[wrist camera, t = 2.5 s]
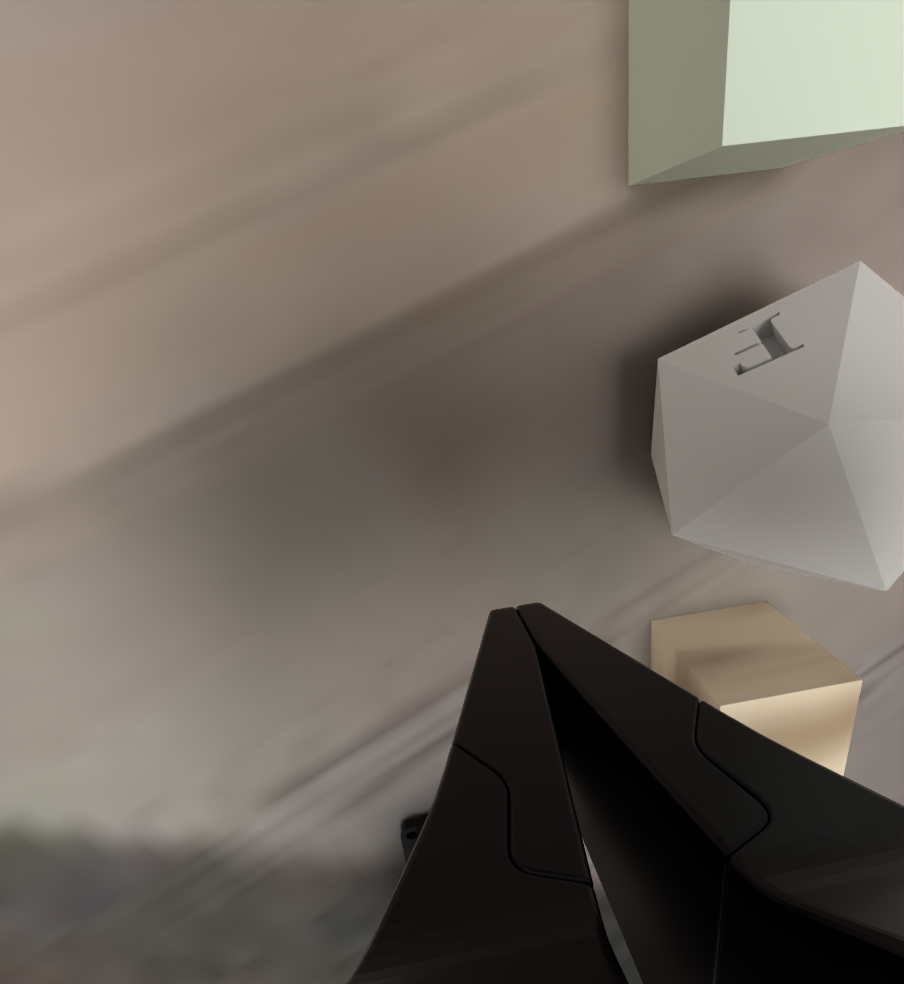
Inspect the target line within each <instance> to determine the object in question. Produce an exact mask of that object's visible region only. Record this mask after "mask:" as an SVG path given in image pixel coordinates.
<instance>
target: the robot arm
mask: <svg viewBox="0 0 904 984" xmlns="http://www.w3.org/2000/svg"><path fill="white" fill-rule="evenodd" d="M581 835H582V836H581ZM582 838H583V840H584V843H585V845H586V847H587V850H588V852H589V855H590V857H591V859H592V862H593V864H594V867H595V869H596V871H597V874H598V876H599V879H600V881H601V883H602V886H603V888H604V891H605V893H606V896H607V898H608V900H609V903H610V905H611V908H612V910H613V912H614V915H615V917H616V920H617V922H618V924H619V927H620V929H621V932H622V934H623V936H624V939H625V941H626V944H627V946H628V949H629V951H630V953H631V956H632V958H633V961H634V963H635V965H636V968H637V970H638V973H639V975H640V977H641V980H642V982H643V984H904V806H902V805H900V804H898V803H896V802H894V801H892V800H890V799H888V798H886V797H884V796H882V795H880V794H878V793H876V792H874V791H872V790H870V789H868V788H866V787H864V786H862V785H860V784H858V783H856V782H854V781H852V780H850V779H848V778H846V777H844V776H842V775H840V774H838V773H836V772H834V771H832V770H830V769H828V768H826V767H824V766H822V765H820V764H818V763H816V762H814V761H812V760H810V759H808V758H806V757H804V756H802V755H800V754H798V753H796V752H794V751H793V750H791V749H789V748H787V747H785V746H783V745H781V744H779V743H777V742H775V741H773V740H771V739H769V738H767V737H766V736H764V735H762V734H760V733H758V732H757V731H755V730H753V729H751V728H750V727H748V726H746V725H744V724H743V723H741V722H739V721H737V720H735V719H734V718H732V717H730V716H728V715H727V714H725V713H723V712H722V711H720V710H718V709H717V708H715V707H713V706H712V705H710V704H708V703H707V702H705V701H700V703H699V698H698V697H696V696H695V695H693V694H691V693H690V692H688V691H686V690H685V689H683V688H681V687H680V686H678V685H676V684H675V683H673V682H671V681H670V680H668V679H666V678H665V677H663V676H661V675H660V674H658V673H656V672H655V671H653V670H651V669H650V668H648V667H646V666H645V665H643V664H641V663H640V662H638V661H636V660H635V659H633V658H631V657H630V656H628V655H626V654H625V653H623V652H621V651H620V650H618V649H616V648H615V647H613V646H611V645H610V644H608V643H606V642H605V641H603V640H601V639H600V638H598V637H596V636H595V635H593V634H591V633H590V632H588V631H586V630H585V629H583V628H581V627H580V626H578V625H576V624H575V623H573V622H571V621H570V620H568V619H566V618H565V617H563V616H561V615H560V614H558V613H556V612H555V611H553V610H551V609H550V608H548V607H546V606H545V605H543V604H541V603H531V604H526V605H520V606H518V607H516V609H515V608H513V607H508V608H502V609H496V610H492V611H491V612H490V614H489V617H488V620H487V624H486V627H485V631H484V634H483V638H482V641H481V645H480V648H479V652H478V655H477V659H476V662H475V666H474V669H473V673H472V676H471V680H470V683H469V687H468V690H467V694H466V697H465V701H464V704H463V708H462V711H461V715H460V718H459V722H458V725H457V729H456V732H455V736H454V739H453V743H452V747H451V749H450V752H449V755H448V759H447V762H446V766H445V769H444V772H443V775H442V778H441V781H440V784H439V787H438V790H437V793H436V796H435V799H434V802H433V804H432V806H431V809H430V811H429V814H428V816H425V817H420V818H415V819H410V820H407V821H405V822H404V823H403V824H402V825H401V841H402V845H403V850H404V855H405V859H406V866H405V868H404V870H403V872H402V875H401V877H400V879H399V881H398V883H397V886H396V888H395V890H394V892H393V894H392V896H391V899H390V901H389V903H388V905H387V907H386V910H385V912H384V914H383V916H382V918H381V921H380V923H379V925H378V927H377V929H376V931H375V933H374V935H373V937H372V940H371V942H370V944H369V946H368V948H367V950H366V951H365V953H364V955H363V957H362V959H361V960H360V962H359V964H358V965H357V967H356V969H355V970H354V972H353V973H352V975H351V976H350V978H349V979H348V980H347V982H346V983H345V984H628V981H627V979H626V977H625V975H624V973H623V971H622V969H621V967H620V964H619V962H618V960H617V958H616V956H615V954H614V952H613V949H612V947H611V945H610V942H609V940H608V937H607V934H606V931H605V927H604V924H603V921H602V917H601V914H600V910H599V906H598V902H597V898H596V894H595V891H594V889H593V881H592V877H591V873H590V869H589V865H588V861H587V856H586V852H585V848H584V844H583V840H582Z"/></svg>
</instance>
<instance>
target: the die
mask: <svg viewBox="0 0 904 984" xmlns="http://www.w3.org/2000/svg"><path fill="white" fill-rule="evenodd" d="M651 457H652V460H653V464H654V468H655V472H656V476H657V480H658V484H659V487H660V491H661V495H662V499H663V503H664V507H665V511H666V514H667V518H668V522H669V526H670V530H671V534H672V535H673V536H676V537H678V538H681V539H683V540H686V541H689V542H691V543H694V544H697V545H699V546H702V547H705V548H707V549H710V550H713V551H715V552H718V553H721V554H723V555H726V556H729V557H731V558H734V559H736V560H739V561H742V562H744V563H747V564H750V565H752V566H757V567H762V568H767V569H773V570H778V571H783V572H788V573H793V574H799V575H804V576H809V577H814V578H819V579H824V580H830V581H835V582H840V583H845V584H850V585H856V586H861V587H866V588H871V589H876V590H882V591H887V590H888V589H889V588H890V587H891V586H892V584H893V583H894V582H895V581H896V580H897V578H898V577H899V576H900V575H901V574H902V572H903V571H904V297H903V296H902V295H901V294H900V293H898V292H897V291H896V290H895V289H894V288H892V287H891V286H890V285H889V284H888V283H886V282H885V281H884V280H883V279H882V278H880V277H879V276H878V275H877V274H876V273H874V272H873V271H872V270H871V269H870V268H868V267H867V266H866V265H865V264H864V263H862V262H861V261H858V262H856V263H854V264H852V265H850V266H848V267H846V268H844V269H842V270H840V271H838V272H836V273H834V274H832V275H830V276H828V277H825V278H823V279H821V280H819V281H817V282H815V283H813V284H811V285H809V286H807V287H805V288H803V289H801V290H799V291H797V292H795V293H792V294H790V295H788V296H786V297H784V298H782V299H780V300H778V301H776V302H774V303H772V304H770V305H768V306H766V307H764V308H762V309H759V310H757V311H755V312H753V313H751V314H749V315H747V316H745V317H743V318H741V319H739V320H737V321H735V322H733V323H731V324H729V325H726V326H724V327H722V328H720V329H718V330H716V331H714V332H712V333H710V334H708V335H706V336H704V337H702V338H700V339H698V340H696V341H693V342H691V343H689V344H687V345H685V346H683V347H681V348H679V349H677V350H675V351H673V352H671V353H669V354H667V355H665V356H663V357H660V358H658V365H657V379H656V393H655V406H654V420H653V433H652V447H651Z"/></svg>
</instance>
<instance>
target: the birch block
mask: <svg viewBox="0 0 904 984" xmlns="http://www.w3.org/2000/svg"><path fill="white" fill-rule="evenodd" d="M650 669H651V670H653V671H655V672H656V673H658V674H660V675H661V676H663V677H665V678H666V679H668V680H670V681H671V682H673V683H675V684H676V685H678V686H680V687H681V688H683V689H685V690H686V691H688V692H690V693H691V694H693V695H695V696H696V697H698V698H699V703H700V701H705V702H707V703H708V704H710V705H712V706H713V707H715V708H717V709H718V710H720V711H722V712H723V713H725V714H727V715H728V716H730V717H732V718H734V719H735V720H737V721H739V722H741V723H743V724H744V725H746V726H748V727H750V728H751V729H753V730H755V731H757V732H758V733H760V734H762V735H764V736H766V737H767V738H769V739H771V740H773V741H775V742H777V743H779V744H781V745H783V746H785V747H787V748H789V749H791V750H793V751H794V752H796V753H798V754H800V755H802V756H804V757H806V758H808V759H810V760H812V761H814V762H816V763H818V764H820V765H822V766H824V767H826V768H828V769H830V770H832V771H834V772H836V773H838V774H840V775H842V776H843V775H844V770H845V765H846V760H847V755H848V750H849V745H850V740H851V736H852V731H853V726H854V721H855V716H856V711H857V706H858V701H859V696H860V691H861V686H862V681H863V680H862V679H861V678H860V677H859V676H857V675H856V674H855V673H854V672H852V671H851V670H850V669H849V668H848V667H846V666H845V665H844V664H843V663H841V662H840V661H839V660H838V659H836V658H835V657H834V656H833V655H832V654H830V653H829V652H828V651H827V650H825V649H824V648H823V647H822V646H821V645H819V644H818V643H817V642H816V641H814V640H813V639H812V638H811V637H809V636H808V635H807V634H806V633H805V632H803V631H802V630H801V629H800V628H798V627H797V626H796V625H795V624H794V623H792V622H791V621H790V620H789V619H787V618H786V617H785V616H784V615H782V614H781V613H780V612H779V611H778V610H776V609H775V608H774V607H773V606H771V605H770V604H769V603H768V602H767V601H763V602H757V603H751V604H745V605H740V606H734V607H728V608H722V609H716V610H710V611H704V612H698V613H693V614H687V615H681V616H675V617H669V618H663V619H657V620H651V656H650Z"/></svg>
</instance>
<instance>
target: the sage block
mask: <svg viewBox="0 0 904 984" xmlns="http://www.w3.org/2000/svg"><path fill="white" fill-rule="evenodd" d="M903 131H904V0H629V90H628V186H631V185H640V184H649V183H657V182H666V181H674V180H683V179H692V178H700V177H709V176H718V175H726V174H735V173H744V172H752V171H761V170H770V169H778V168H785V167H788V166H791V165H794V164H798V163H801V162H804V161H808V160H811V159H814V158H817V157H821V156H824V155H827V154H831V153H834V152H837V151H840V150H844V149H847V148H850V147H854V146H857V145H860V144H863V143H867V142H870V141H873V140H877V139H880V138H883V137H886V136H890V135H893V134H896V133H900V132H903Z"/></svg>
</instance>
